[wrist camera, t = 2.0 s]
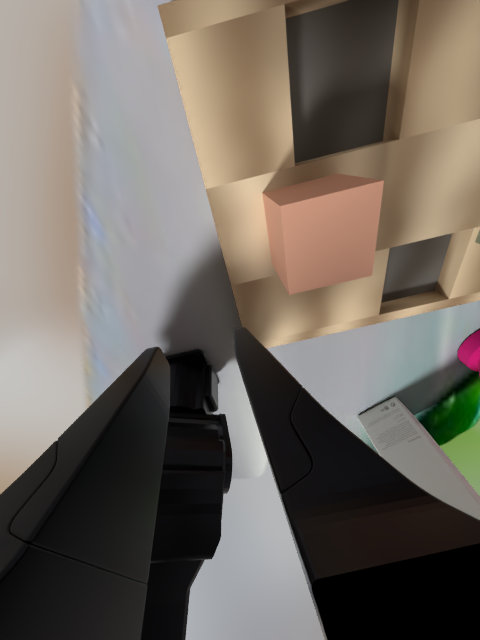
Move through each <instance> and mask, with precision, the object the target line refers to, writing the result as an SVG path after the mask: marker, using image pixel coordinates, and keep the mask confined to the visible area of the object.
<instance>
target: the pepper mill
mask: <svg viewBox="0 0 480 640" xmlns="http://www.w3.org/2000/svg"><path fill="white" fill-rule="evenodd" d="M458 358H459V360H460V361H461V362H462V363H464V364H465V365H466V366H467V367H469V368H470V369H471V370H473V371H479V376H480V330H478V331H477V332H475V333H473V334H472V335H471V336H469V337H468V338H467V339H466V340H465V341H464V342H463V343H462V345H461V346H460V348H459V350H458Z"/></svg>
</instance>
